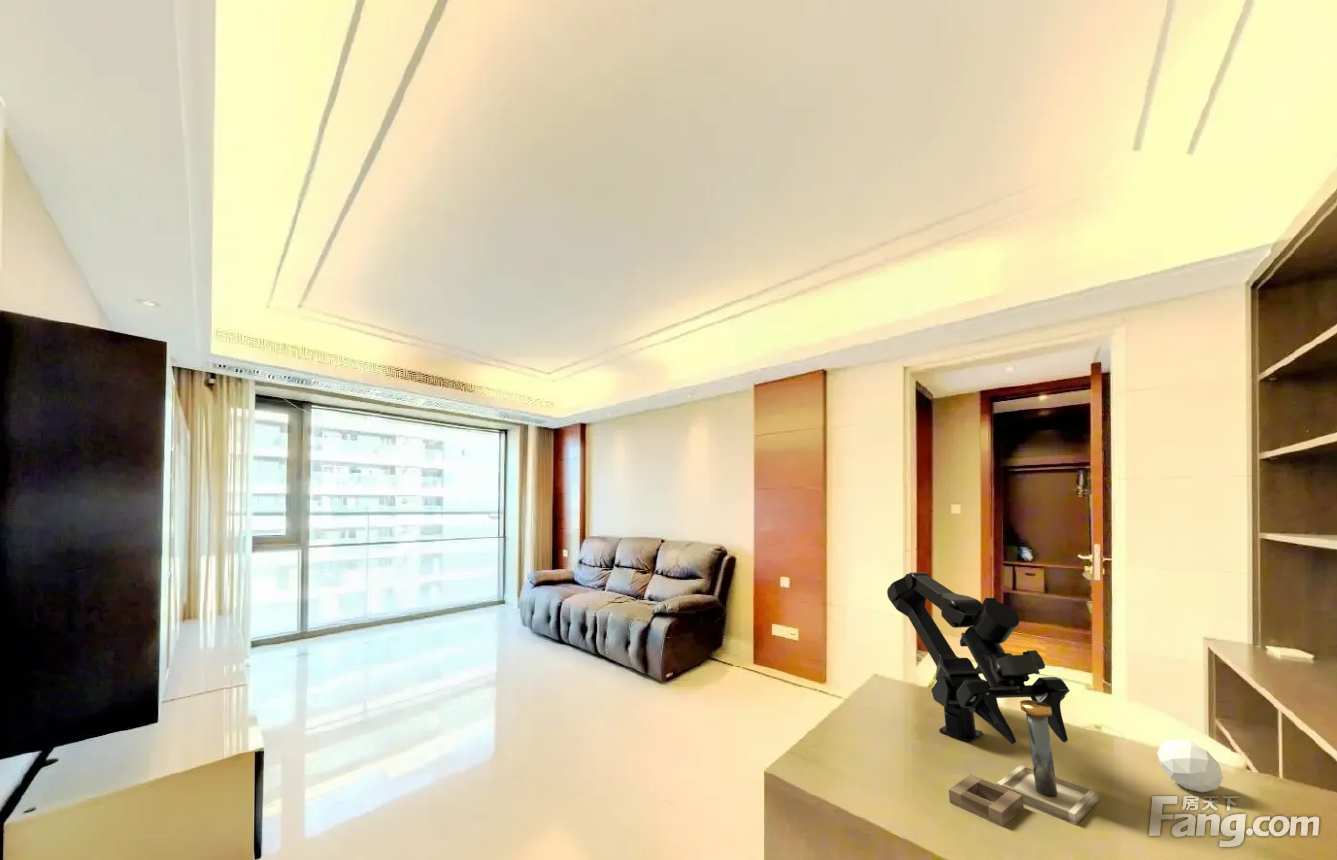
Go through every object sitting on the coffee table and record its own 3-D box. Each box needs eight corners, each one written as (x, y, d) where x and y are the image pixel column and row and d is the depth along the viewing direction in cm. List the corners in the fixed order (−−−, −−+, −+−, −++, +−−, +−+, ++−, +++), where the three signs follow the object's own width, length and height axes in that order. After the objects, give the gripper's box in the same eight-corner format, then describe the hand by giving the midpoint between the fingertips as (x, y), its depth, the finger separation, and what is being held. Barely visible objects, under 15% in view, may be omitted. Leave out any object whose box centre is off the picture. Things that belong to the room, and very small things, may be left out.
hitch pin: (1029, 782, 87) (1018, 698, 89) (1060, 789, 85) (1048, 702, 87) (1032, 795, 83) (1021, 707, 86) (1065, 802, 81) (1053, 712, 83)
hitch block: (972, 786, 87) (970, 774, 88) (1023, 808, 81) (1022, 795, 81) (949, 802, 83) (948, 789, 83) (1003, 826, 76) (1001, 812, 77)
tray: (1023, 772, 92) (1022, 763, 92) (1098, 800, 83) (1097, 790, 83) (997, 792, 85) (996, 783, 86) (1076, 825, 76) (1074, 814, 77)
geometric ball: (1181, 798, 87) (1156, 747, 93) (1241, 798, 82) (1212, 743, 88) (1164, 787, 85) (1140, 734, 90) (1226, 785, 80) (1197, 730, 85)
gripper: (958, 635, 93) (1007, 723, 80) (1054, 632, 94) (1117, 719, 81) (939, 665, 100) (981, 751, 87) (1028, 663, 100) (1083, 748, 88)
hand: (1040, 742), depth 85 cm, fingers open, 9 cm apart
